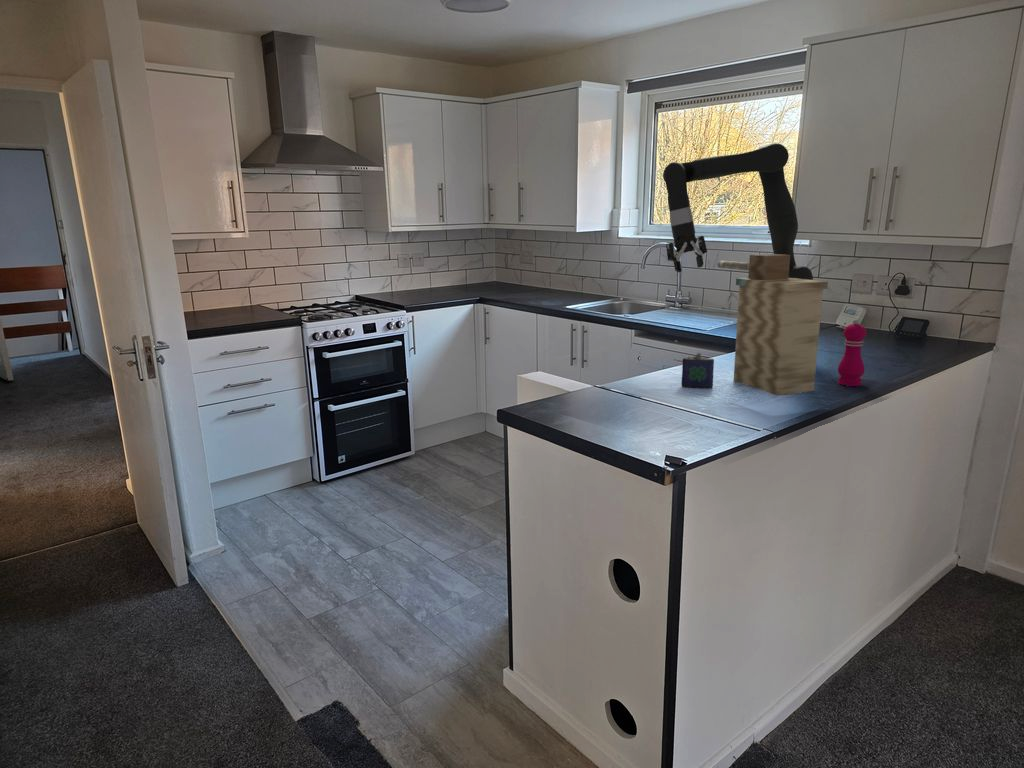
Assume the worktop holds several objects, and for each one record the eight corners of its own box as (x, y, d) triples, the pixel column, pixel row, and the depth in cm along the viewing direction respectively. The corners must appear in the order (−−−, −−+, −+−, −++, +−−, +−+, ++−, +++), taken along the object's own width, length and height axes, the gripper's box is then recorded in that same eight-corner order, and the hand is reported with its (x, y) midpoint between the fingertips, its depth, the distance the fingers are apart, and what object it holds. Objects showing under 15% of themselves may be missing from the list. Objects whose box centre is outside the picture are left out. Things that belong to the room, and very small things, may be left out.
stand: (730, 380, 207) (736, 278, 200) (767, 375, 212) (774, 276, 204) (778, 396, 187) (786, 284, 179) (817, 391, 191) (827, 281, 183)
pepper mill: (830, 382, 201) (837, 318, 196) (848, 380, 204) (855, 316, 199) (850, 388, 194) (857, 321, 190) (868, 385, 197) (875, 319, 192)
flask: (712, 386, 200) (714, 352, 198) (713, 389, 197) (714, 354, 195) (681, 385, 202) (682, 351, 200) (681, 388, 199) (682, 353, 197)
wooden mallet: (709, 273, 217) (710, 252, 215) (730, 272, 219) (731, 251, 218) (765, 280, 191) (767, 255, 190) (788, 279, 194) (790, 254, 192)
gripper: (669, 225, 219) (678, 273, 222) (706, 217, 223) (713, 264, 225) (658, 227, 226) (666, 274, 229) (693, 220, 230) (701, 266, 232)
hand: (689, 269), depth 227 cm, fingers open, 8 cm apart
